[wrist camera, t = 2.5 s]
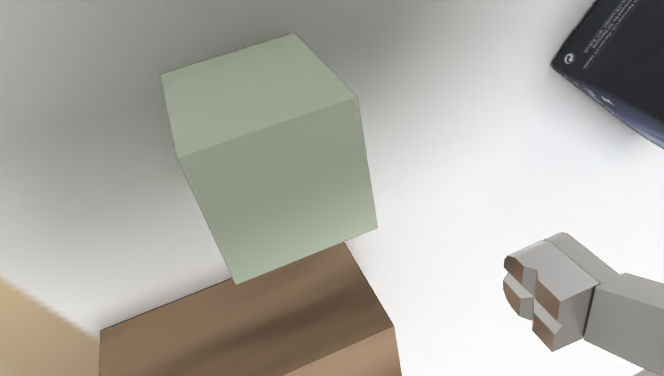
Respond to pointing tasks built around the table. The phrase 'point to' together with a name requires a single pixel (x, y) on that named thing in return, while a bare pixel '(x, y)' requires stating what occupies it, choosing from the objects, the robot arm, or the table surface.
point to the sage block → (271, 153)
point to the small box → (621, 62)
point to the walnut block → (263, 327)
